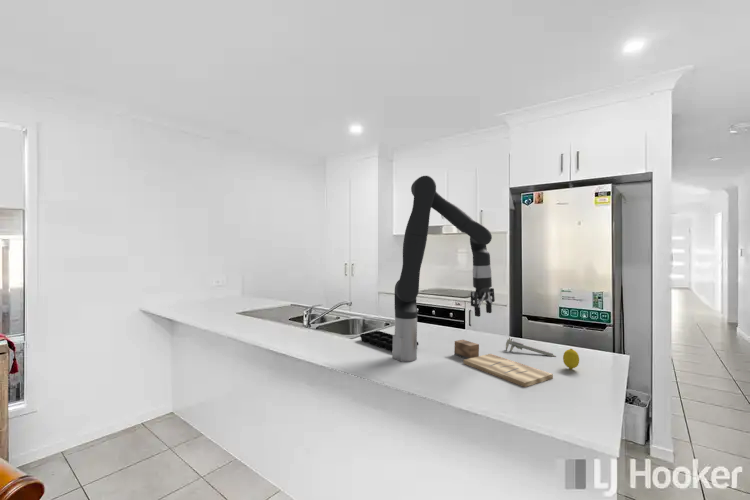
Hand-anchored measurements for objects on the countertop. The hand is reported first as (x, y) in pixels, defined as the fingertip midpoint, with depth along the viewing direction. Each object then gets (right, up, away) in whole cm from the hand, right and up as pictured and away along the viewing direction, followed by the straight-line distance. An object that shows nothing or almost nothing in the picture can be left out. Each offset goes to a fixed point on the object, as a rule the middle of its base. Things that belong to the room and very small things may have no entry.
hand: (483, 314), depth 156 cm
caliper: (+23, -19, +7) cm, 30 cm away
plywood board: (+4, -19, -15) cm, 24 cm away
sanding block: (-7, -18, +2) cm, 19 cm away
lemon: (+30, -19, -13) cm, 38 cm away
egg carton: (-39, -18, +18) cm, 47 cm away
